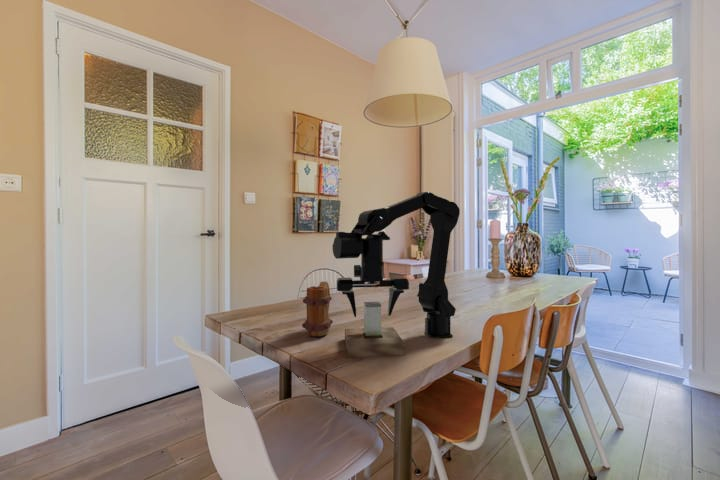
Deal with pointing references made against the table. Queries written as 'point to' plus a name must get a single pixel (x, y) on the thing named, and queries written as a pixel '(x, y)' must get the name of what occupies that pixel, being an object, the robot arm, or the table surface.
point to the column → (372, 318)
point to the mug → (318, 310)
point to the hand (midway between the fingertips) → (372, 316)
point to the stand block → (373, 343)
